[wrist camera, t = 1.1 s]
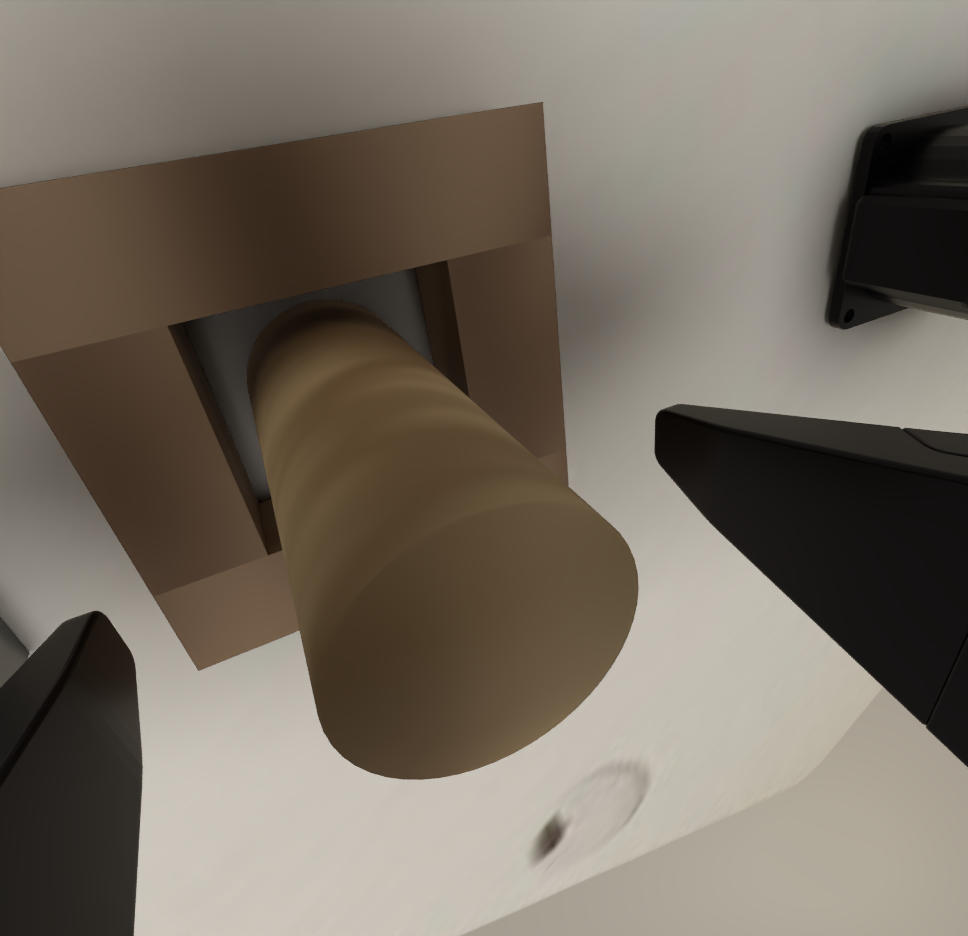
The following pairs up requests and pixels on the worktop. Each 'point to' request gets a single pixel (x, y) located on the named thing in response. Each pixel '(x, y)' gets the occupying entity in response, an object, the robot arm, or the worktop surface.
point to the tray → (10, 653)
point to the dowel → (426, 553)
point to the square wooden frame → (255, 280)
